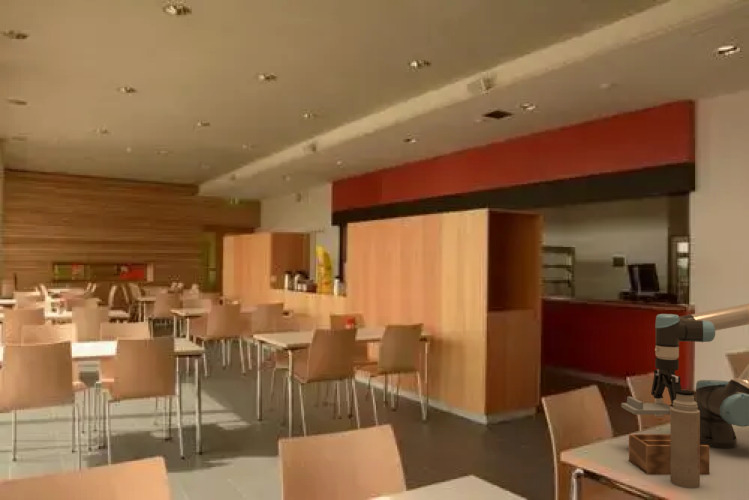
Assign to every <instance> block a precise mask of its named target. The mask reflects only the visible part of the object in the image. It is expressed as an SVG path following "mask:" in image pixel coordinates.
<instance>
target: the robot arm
mask: <svg viewBox="0 0 749 500" xmlns="http://www.w3.org/2000/svg"><path fill="white" fill-rule="evenodd" d="M747 325H748V326H749V303H744V304H739V305H734V306H728V307H724V308H717V309H713V310H712V309H711V310H708V311H702V312H698V313H692V314H691V313H690V314H687V315H682V316H679V315H678V314H673V313H660V314H659V313H658V314H657V315H656V316H655V326H654V328H655V348H654V351H655V356H656V357H655V360H654V362H655V365H654V366H655V368H656V369H654V370H653V381H652V385H651V386H652V387H651V391H650V394H651V396H653V398H654V403H664V395H663V394H664V391H665V389H666V388H667V391H668V395H669V400H670V404H669V406H670V415H669V416H670V420H669V421H670V422H669V425H670V426H671V407H673V405H672V404H673V401H674V400H675V399H676V395H677V393H676V390H682V385H681V376H680V375H676V373H675V371H678V370H679V367H680V364H679V363H680V360H679V359H678V358H680V342H693V343H694V342H695V343H707V342H708V343H710V342H713V340H714V339H715V337H716V331H721V330H726V329H730V328H732V329H733V328H735V327H736V328H738V327H741V326H747ZM695 385H696V386H695V390H694V391H695V402H696V403H697V406H698V407H697V409H698V410H699V411H700V445H709V447H712V448H723V449H725V448H727V449H728V448H729V449H730V448H736V447H737V445H738V439H737V435H736V432H735V430H734V427H733V426H736V427H741V428H743V427H749V363H748V365H746V366H745V368H744V370H743V371H742V372H741V374H740V375H739V376H738V377H736V378H731V379H730V380H716V379H715V380H714V379H701V380H700V379H699V380H698V381H697V382H696V383H695ZM654 417H655V418H664V415H654Z"/></svg>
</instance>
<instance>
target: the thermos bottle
mask: <svg viewBox="0 0 749 500" xmlns="http://www.w3.org/2000/svg"><path fill="white" fill-rule="evenodd" d="M676 393H677V395H676V399H675V400H674V401H673V404H672V403H671V404H672V405H673V407H671V425H670V434H671V464H670V475H669V476H670V477H669V478H670V483H672V484H673V485H675V486H677V485H678V487H682V488H686V487H688V489H696V488H699V487H700V486H701V484H700V483H701V476H700V445H701V444H700V411H699V410H698V409H697V407H698V406H697V403H696V400H695V396H694V395H695V393H694V391H692V390H688V389H687V390H686V389H681V390H676Z"/></svg>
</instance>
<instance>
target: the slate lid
mask: <svg viewBox="0 0 749 500" xmlns="http://www.w3.org/2000/svg"><path fill="white" fill-rule="evenodd" d="M621 408H623V409H624V410H625V411H627V412H629V413H632V414H633V415H635V416H636V415H637V416H639V415H641V416H642V415H644V416H646V415H649V416H651V415H652V416H653V415H654V416H655V415H663V416H667V415H668V416H670V404H667V403H664V402H663V403H655V402H653V403H651V402H647V403H646V402H645V403H644V402H643V401H641V400H640V399H636V398H635V397H633V396H627V397H626V402H621Z"/></svg>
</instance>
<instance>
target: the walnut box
mask: <svg viewBox="0 0 749 500" xmlns="http://www.w3.org/2000/svg"><path fill="white" fill-rule="evenodd" d="M628 462H630V463H631V464H632V465H634V466H635V467H636V468H637V469H639V470H641V472H643V473H644V474H646V475H648V476H649V475H651V476H652V475H657V476H658V475H660V476H661V475H666V476H668V475H669V476H670V464H671V433H670V434H669V433H668V434H667V433H666V434H665V433H660V434H658V433H657V434H656V433H655V434H654V433H653V434H652V433H651V434H650V433H645V434H644V433H641V434H640V433H639V434H636V433H635V434H634V433H632V434H631V433H630V434H628ZM700 475H710V446H709V445H702V444H700Z"/></svg>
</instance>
